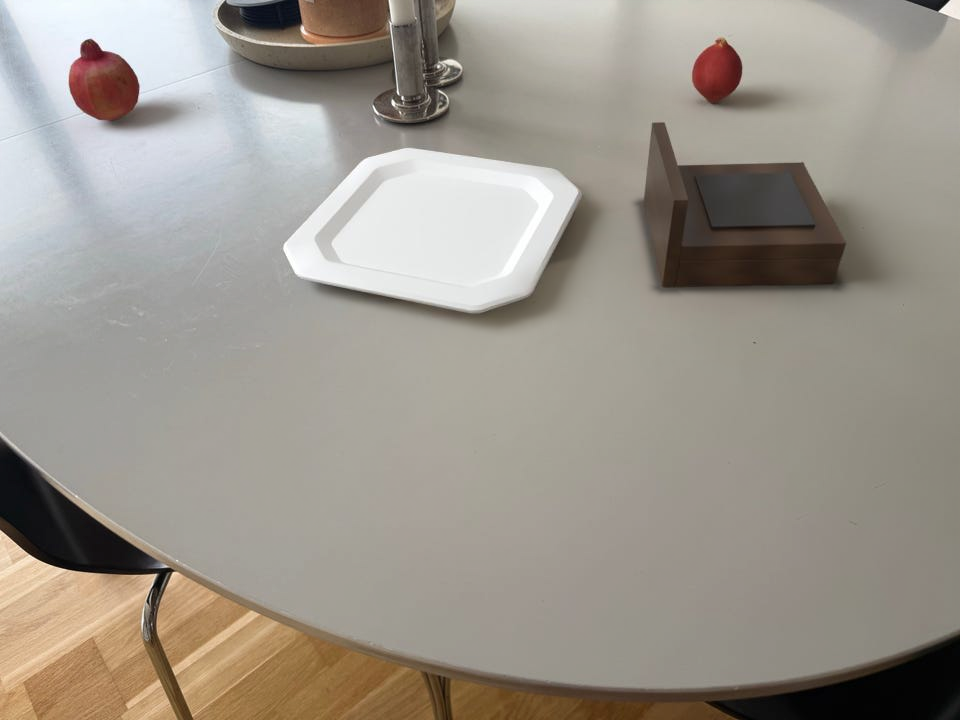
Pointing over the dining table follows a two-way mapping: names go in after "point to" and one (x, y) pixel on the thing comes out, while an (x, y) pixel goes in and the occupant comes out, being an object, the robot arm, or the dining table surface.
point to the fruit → (103, 83)
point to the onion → (717, 71)
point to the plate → (437, 229)
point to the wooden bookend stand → (737, 222)
